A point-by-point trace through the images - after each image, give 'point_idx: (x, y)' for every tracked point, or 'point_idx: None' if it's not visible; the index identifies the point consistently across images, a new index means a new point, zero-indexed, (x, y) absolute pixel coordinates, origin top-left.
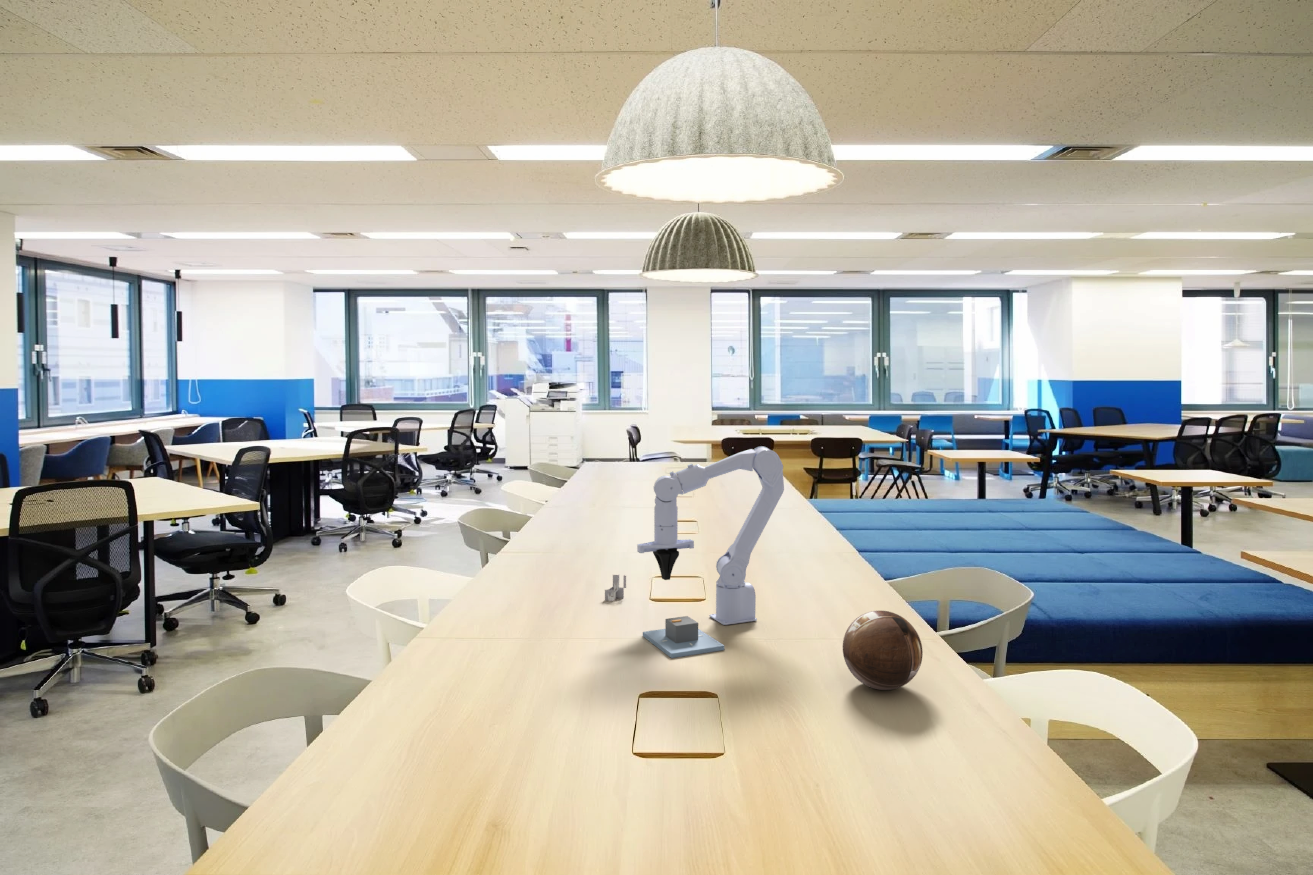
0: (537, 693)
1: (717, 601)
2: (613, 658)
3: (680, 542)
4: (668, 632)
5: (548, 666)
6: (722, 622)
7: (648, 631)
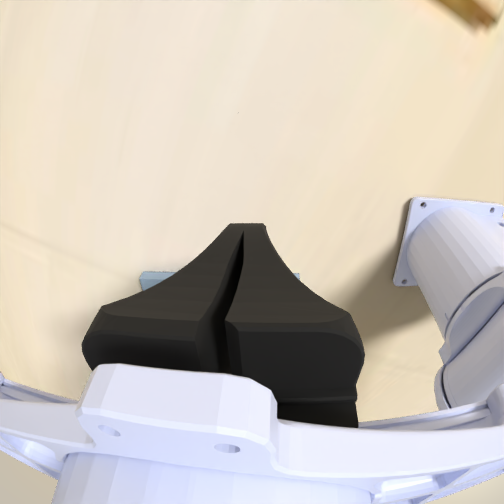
0: (18, 374)
1: (428, 278)
2: (80, 344)
3: (408, 487)
4: None
5: (3, 324)
6: (396, 277)
7: (154, 282)
